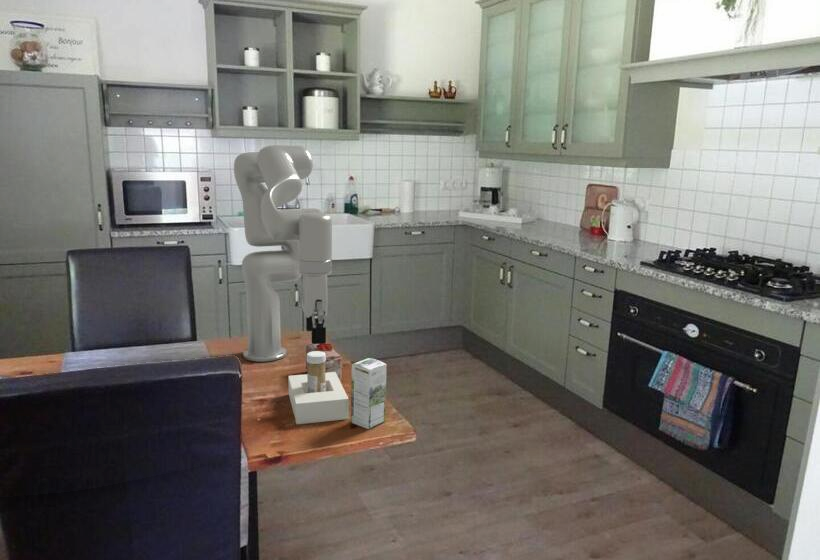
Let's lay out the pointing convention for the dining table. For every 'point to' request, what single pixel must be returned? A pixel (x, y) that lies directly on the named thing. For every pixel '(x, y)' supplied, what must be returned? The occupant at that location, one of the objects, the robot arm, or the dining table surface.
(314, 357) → the sprinkles bottle
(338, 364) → the food item
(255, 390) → the dining table surface
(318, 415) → the socket block
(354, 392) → the syrup box
